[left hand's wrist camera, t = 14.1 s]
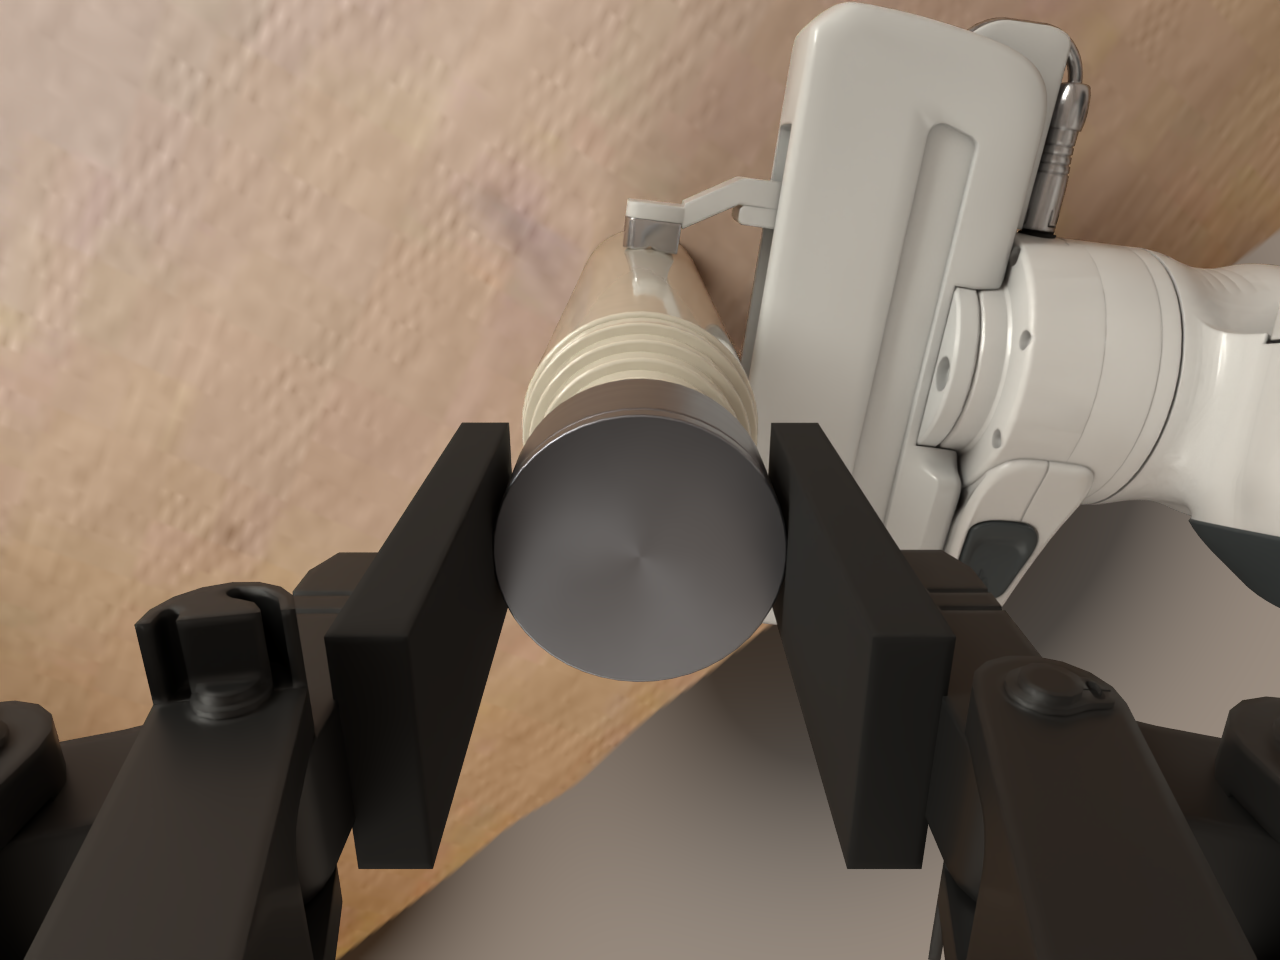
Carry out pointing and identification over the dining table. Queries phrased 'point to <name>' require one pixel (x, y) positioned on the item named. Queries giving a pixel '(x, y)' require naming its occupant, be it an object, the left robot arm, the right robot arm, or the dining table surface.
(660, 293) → the bottle
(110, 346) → the dining table surface
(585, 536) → the cap
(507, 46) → the dining table surface
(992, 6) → the dining table surface
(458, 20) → the dining table surface
